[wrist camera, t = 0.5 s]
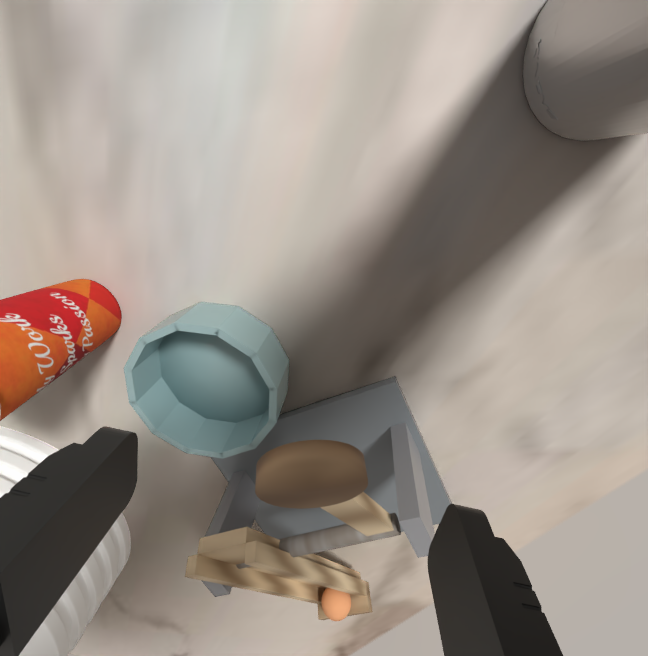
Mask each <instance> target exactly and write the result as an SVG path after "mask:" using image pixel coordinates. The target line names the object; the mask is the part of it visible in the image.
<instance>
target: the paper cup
mask: <svg viewBox="0 0 648 656" xmlns="http://www.w3.org/2000/svg"><path fill="white" fill-rule="evenodd" d="M120 324H121V310H120V307H119V304H118V302H117V300H116V299H115V297H114V296H113V295H112V293H111V292H110V291H109V290H108V289H106V288H105V287H104V286H102V285H101V284H99V283H97V282H95V281H92V280H87V279H77V280H72V281H67V282H64V283H60V284H56V285H52V286H49V287H45V288H41V289H38V290H34V291H30V292H27V293H23V294H20V295H16V296H13V297H9V298H5V299H2V300H0V421H1V420H2V419H3V418H5V417H6V416H7V415H9V414H10V413H11V412H13V411H14V410H15V409H17V408H18V407H19V406H21V405H22V404H23V403H25V402H26V401H27V400H29V399H30V398H31V397H32V396H34V395H35V394H36V393H38V392H39V391H40V390H42V389H43V388H44V387H46V386H47V385H48V384H50V383H51V382H52V381H54V380H55V379H56V378H58V377H59V376H60V375H62V374H63V373H64V372H66V371H67V370H68V369H70V368H71V367H72V366H73V365H75V364H76V363H77V362H79V361H80V360H81V359H83V358H84V357H85V356H87V355H88V354H89V353H91V352H92V351H93V350H94V349H96V348H97V347H98V346H100V345H101V344H102V343H103V342H105V341H106V340H107V339H108V338H110V337H111V336H112V335H113V334H114V333H115V332H116V331H117V330H118V328H119V326H120Z"/></svg>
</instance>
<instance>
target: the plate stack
mask: <svg viewBox="0 0 648 656" xmlns="http://www.w3.org/2000/svg"><path fill="white" fill-rule="evenodd" d="M57 451H59V450H58V449H56V448H55V447H53V446H51V445H49V444H47V443H45V442H43V441H41V440H39V439H37V438H35V437H32V436H30V435H27V434H25V433H22V432H19V431H16V430H13V429H10V428H6V427H2V426H0V498H1V497H2V496H3V495H4V494H5V493H9V492H10V490H11V488H12V487H13V486H14V485H15V484H17V483H18V482H19V481H20V480H21V479H22V478H23V477H25V478H26V477H27V476H28V473H29V472H30V471H32V470H33V469H34V468H35V467H36V466H37V465H38V464H40V463H41V462H42V461H43V460H44V459H45V458H46V457H48V456H49V455H51V454H53V453H55V452H57ZM130 550H131V537H130V532H129V528H128V525H127V522H126V519H125V517H124V515H123V513H121V514H120V516H119V517H118V518H117V520H116V521H115V522H114V524H113V525H112V527H111V528H110V529H109V531H108V532H107V534H106V535H105V536H104V538H103V539H102V541H101V542H100V543H99V545H98V546H97V547H96V549H95V550H94V552H93V553H92V554H91V556H90V557H89V559H88V560H87V561H86V563H85V564H84V566H83V567H82V568H81V570H80V571H79V572H78V574H77V575H76V577H75V578H74V579H73V581H72V582H71V584H70V585H69V586H68V588H67V589H66V591H65V592H64V593H63V595H62V596H61V598H60V599H59V600H58V602H57V603H56V604H55V606H54V607H53V609H52V610H51V611H50V613H49V614H48V616H47V617H46V618H45V620H44V621H43V623H42V624H41V625H40V627H39V628H38V629H37V631H36V632H35V634H34V635H33V636H32V638H31V639H30V641H29V642H28V643H27V645H26V646H25V648H24V649H23V650H22V652H21V653H20V655H19V656H68V654H69V653H71V651H72V650H73V649H74V648H75V646H76V645H77V643H78V641H79V640H80V638H81V636H82V635H83V633H84V631H85V628H86V626H87V625H88V624H89V623H90V622H91V620H92V619H93V617H94V615H95V614H96V612H97V610H98V609H99V607H100V605H101V602H102V601H103V600H104V599H105V597H106V596H107V594H108V593H109V591H110V589H111V588H112V586H113V584H114V582H115V580H116V579H117V577H118V576H119V575H120V573H121V571H122V570H123V568H124V567H125V565H126V563H127V561H128V558H129V555H130Z"/></svg>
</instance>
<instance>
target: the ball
mask: <svg viewBox="0 0 648 656" xmlns="http://www.w3.org/2000/svg"><path fill="white" fill-rule="evenodd" d="M321 604H322V609H323V612H324V613H325V615H326V616H327V617H328V618H329V619H331V620H333V621H340V620H343V619H344V618H345V617H346V616H347V615H348V613H349V611H350V608H351V597H350V594H349V593H345V592H342V591H338V590H335V589H331V588H328V587H327V588H326V589H325V591H324V593H323V595H322V600H321Z"/></svg>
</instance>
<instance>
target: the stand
mask: <svg viewBox="0 0 648 656" xmlns="http://www.w3.org/2000/svg"><path fill="white" fill-rule="evenodd" d="M304 440H333V441H339V442H343V443H347V444H350V445H352V446H354V447H356V448H358V449H359V450H360V451H361V452H362V453H363V455H364V459H365V465H366V471H367V477H368V486H367V488H366V489H365V490H364V491H363V492H364V493H366V494H367V495H368V496H369V497H370V498H372V499H373V500H374V501H375V502H376V503H377V504H379V505H380V506H381V507H382V508H383V509H385V510H386V511H387V512H388V513H389V514H391V513H396V515H397V517H398V520H399V524H400V528H401V532H403V531H404V532H405V534H406V536H407V537H408V539H409V541H410V543H411V545H412V547H413V549H414V551H415V553H416V555H417V557H418V558H419V557H424V556H428V553H429V548H430V544H431V542H432V540H433V537H434V535H435V534H434V528H433V525H435V524H440V522H441V520H442V517H443V515H444V513H445V511H446V509H447V507H448V506H449V505H450V504H452V503H451V501H450V498H449V496H448V494H447V492H446V489H445V487H444V485H443V483H442V480H441V478H440V476H439V474H438V471H437V469H436V467H435V465H434V462H433V460H432V458H431V456H430V453H429V451H428V449H427V447H426V444H425V442H424V440H423V438H422V435H421V433H420V431H419V429H418V426H417V424H416V422H415V420H414V417H413V415H412V413H411V411H410V408H409V406H408V404H407V402H406V400H405V397H404V395H403V393H402V391H401V388H400V386H399V384H398V382H397V379H396V377H392V378H389V379H386V380H383V381H380V382H377V383H374V384H371V385H368V386H365V387H362V388H359V389H356V390H353V391H350V392H347V393H344V394H341V395H338V396H335V397H332V398H329V399H326V400H323V401H320V402H317V403H314V404H311V405H308V406H305V407H302V408H299V409H296V410H293V411H290V412H287V413H284V414H281V415H279V417H278V420H277V422H276V424H275V425H274V427H273V428H272V429H271V430H270V432H269V433H268V434H267V435H266V436H265V438H264V439H263V440H262V441H261V442H260V444H259V445H258V446H257V447H256V449H252V450H249V451H246V452H243V453H239V454H236V455H233V456H230V457H226V458H223V459H222V458H216V457H211V458H212V460H213V461H214V462H215V464H216V465H217V467H218V468H219V469H220V471H221V472H222V474H223V475H224V477H225V478H226V479H227V481H228V482H229V484H228V486H227V488H226V490H225V492H224V495H223V497H222V499H221V501H220V504H219V506H218V508H217V510H216V513H215V515H214V517H213V519H212V522H211V524H210V526H209V528H208V531H207V533H206V535H205V537H207V536H211V535H215V534H219V533H223V532H227V531H231V530H235V529H239V528H243V527H249V528H251V527H252V524H253V521H254V519H255V520H256V522H257V523H258V525H259V526H260V528H261V529H262V530H263V532H264V533H265V534H266V535H269V536H271V537H274V538H276V539H282V538H287V537H291V536H295V535H300V534H304V533H308V532H313V531H317V530H321V529H326V528H330V527H334V526H339V525H343V524H346V523H345V522H343V521H341V520H340V519H338V518H336V517H335V516H333V515H332V514H330V513H328V512H327V511H325V510H323V509H322V508H320V507H318V508H304V509H297V508H284V507H278V506H274V505H271V504H268V503H266V502H264V501H262V500H260V499H259V498H258V497H257V495H256V493H255V484H256V465H257V462H258V460H259V459H260V458H261V457H262V456H263V455H264V454H265V453H266V452H268V451H270V450H272V449H274V448H276V447H279V446H281V445H284V444H288V443H292V442H297V441H304ZM197 554H198V553H197ZM201 581H202V582H203V583H204V584H205V586H206V587H207V588H208V589H209V590H210V591H211V593H212V594H213V595H214V596H215V597H217V596H222V595H227V594H230V591H231V588H232V586H228V585H223V584H218V583H213V582H208V581H203V580H201Z"/></svg>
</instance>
